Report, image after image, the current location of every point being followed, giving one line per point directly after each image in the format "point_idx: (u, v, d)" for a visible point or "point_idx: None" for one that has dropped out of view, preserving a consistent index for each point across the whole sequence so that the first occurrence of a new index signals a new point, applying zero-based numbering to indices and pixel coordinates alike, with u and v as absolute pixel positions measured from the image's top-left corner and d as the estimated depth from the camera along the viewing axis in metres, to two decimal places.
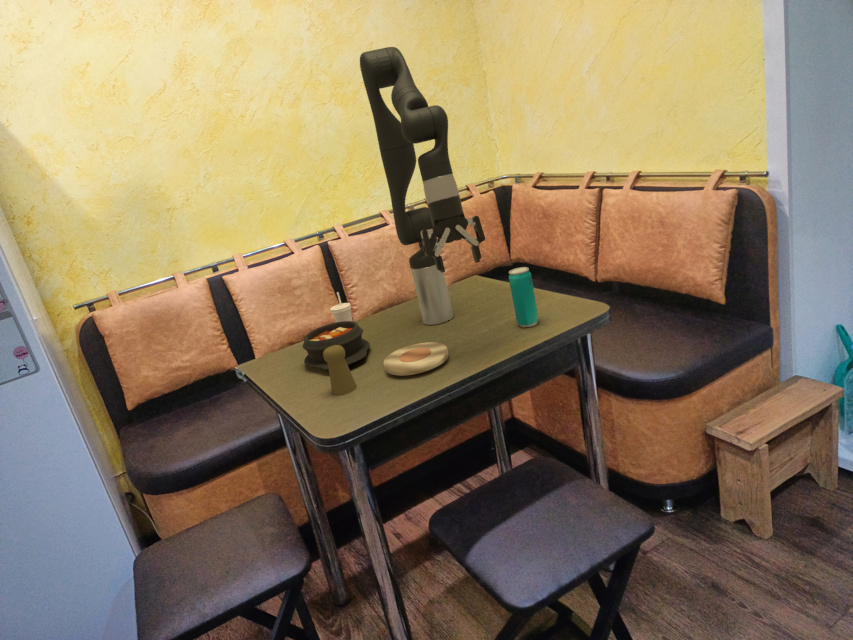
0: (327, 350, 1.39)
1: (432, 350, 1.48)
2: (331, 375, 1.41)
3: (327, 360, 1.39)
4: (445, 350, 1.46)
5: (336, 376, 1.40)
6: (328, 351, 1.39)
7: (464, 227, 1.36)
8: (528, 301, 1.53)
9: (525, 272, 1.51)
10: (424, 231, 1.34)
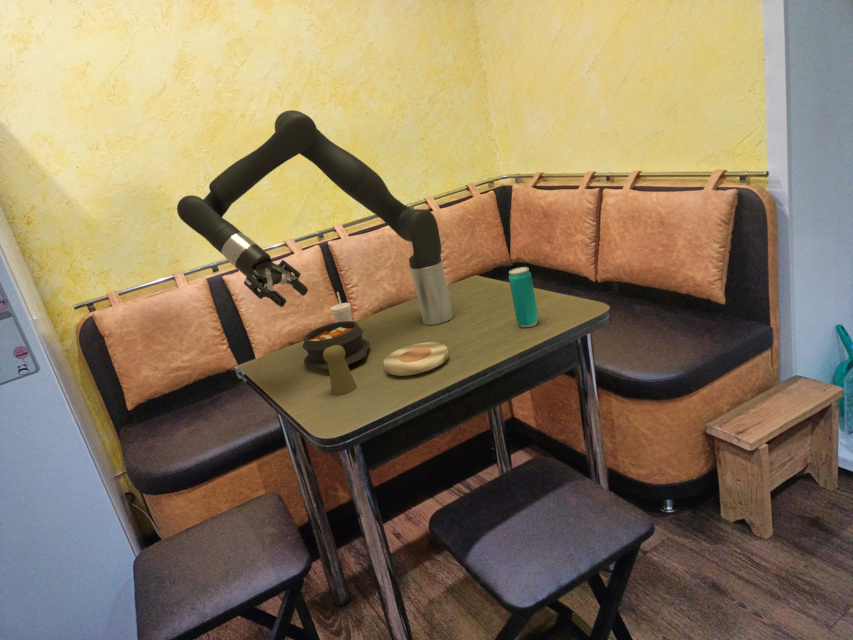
0: (327, 350, 1.39)
1: (432, 350, 1.48)
2: (331, 375, 1.41)
3: (327, 360, 1.39)
4: (445, 350, 1.46)
5: (336, 376, 1.40)
6: (328, 351, 1.39)
7: None
8: (528, 301, 1.53)
9: (525, 272, 1.51)
10: None
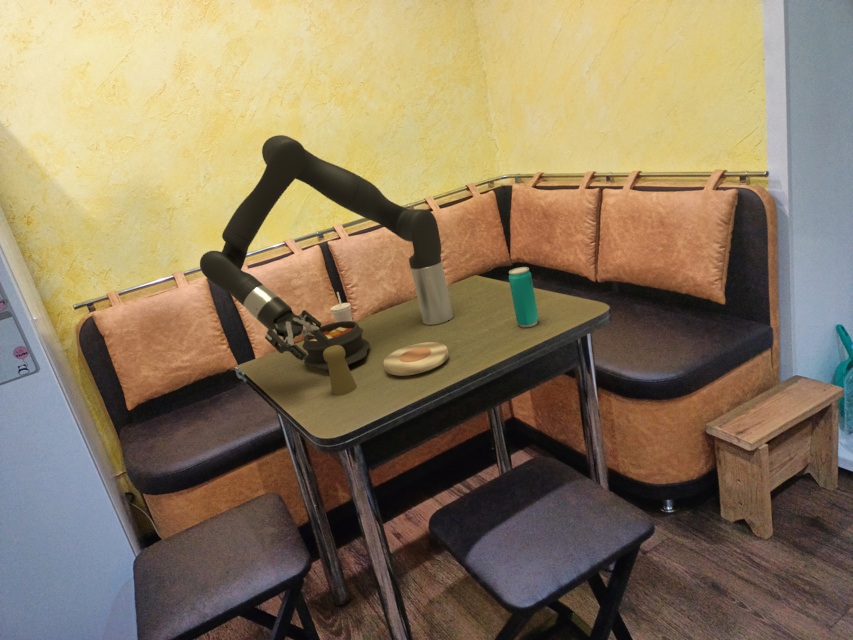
0: (327, 350, 1.39)
1: (432, 350, 1.48)
2: (331, 375, 1.41)
3: (327, 360, 1.39)
4: (445, 350, 1.46)
5: (336, 376, 1.40)
6: (328, 351, 1.39)
7: None
8: (528, 301, 1.53)
9: (525, 272, 1.51)
10: None
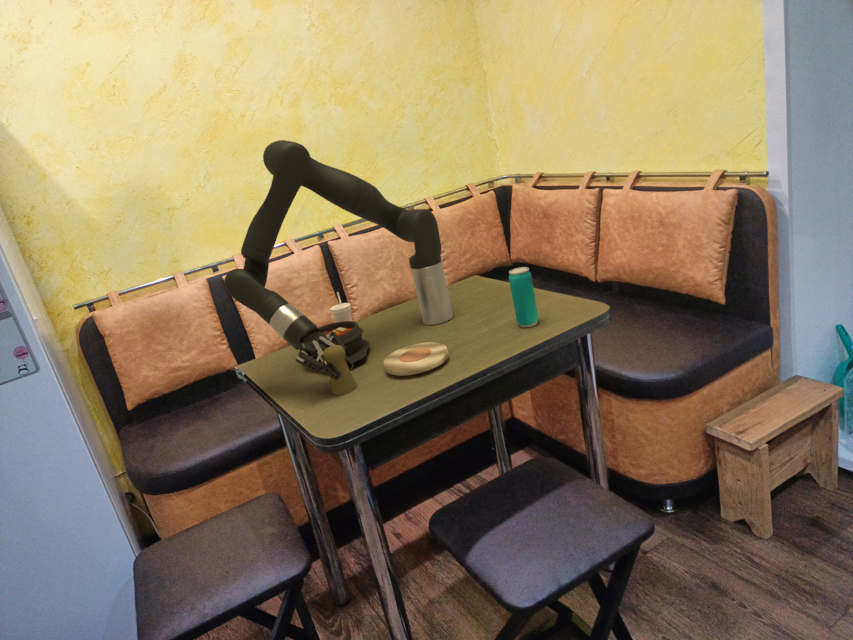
0: (327, 350, 1.39)
1: (432, 350, 1.48)
2: None
3: (327, 360, 1.39)
4: (445, 350, 1.46)
5: None
6: (328, 351, 1.39)
7: None
8: (528, 301, 1.53)
9: (525, 272, 1.51)
10: None
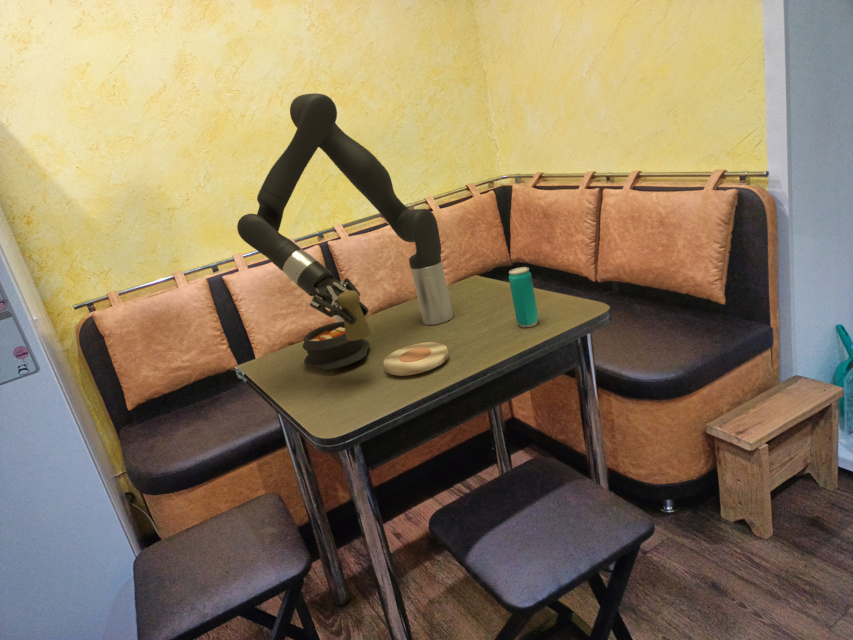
0: (341, 295, 1.38)
1: (432, 350, 1.48)
2: None
3: (341, 305, 1.38)
4: (445, 350, 1.46)
5: None
6: (342, 295, 1.37)
7: None
8: (528, 301, 1.53)
9: (525, 272, 1.51)
10: None
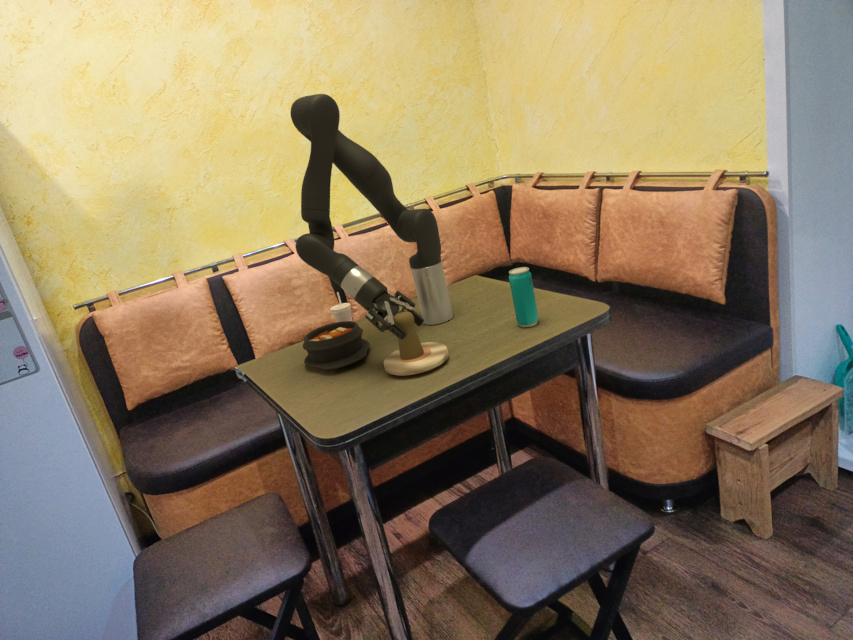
0: (397, 316, 1.43)
1: (432, 350, 1.48)
2: (400, 340, 1.44)
3: None
4: (445, 350, 1.46)
5: (405, 342, 1.44)
6: (398, 317, 1.43)
7: None
8: (528, 301, 1.53)
9: (525, 272, 1.51)
10: None
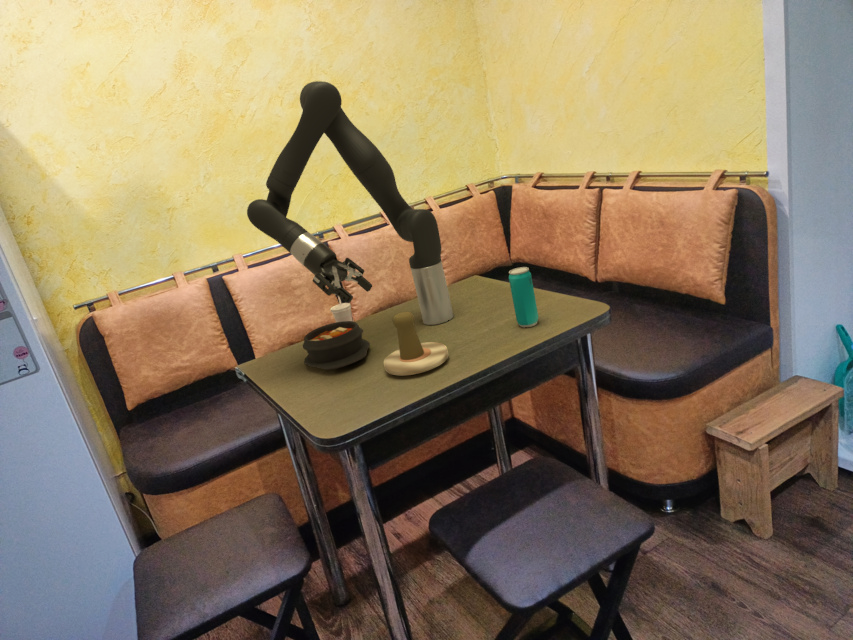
0: (397, 316, 1.43)
1: (432, 350, 1.48)
2: (401, 340, 1.44)
3: (397, 325, 1.43)
4: (445, 350, 1.46)
5: (405, 342, 1.44)
6: (399, 317, 1.43)
7: None
8: (528, 301, 1.53)
9: (525, 272, 1.51)
10: None
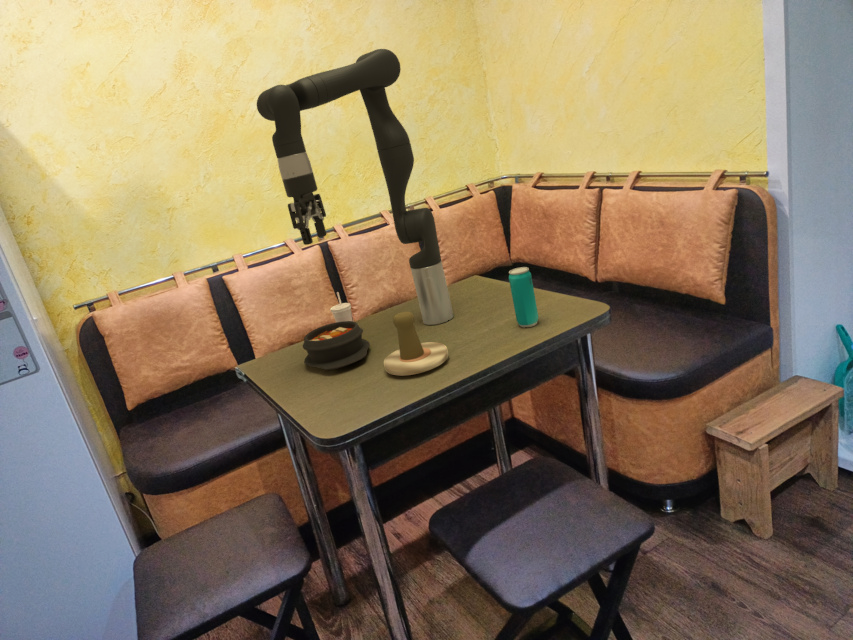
0: (397, 316, 1.43)
1: (432, 350, 1.48)
2: (401, 340, 1.44)
3: (398, 325, 1.43)
4: (445, 350, 1.46)
5: (406, 341, 1.44)
6: (399, 316, 1.43)
7: None
8: (528, 301, 1.53)
9: (525, 272, 1.51)
10: None
